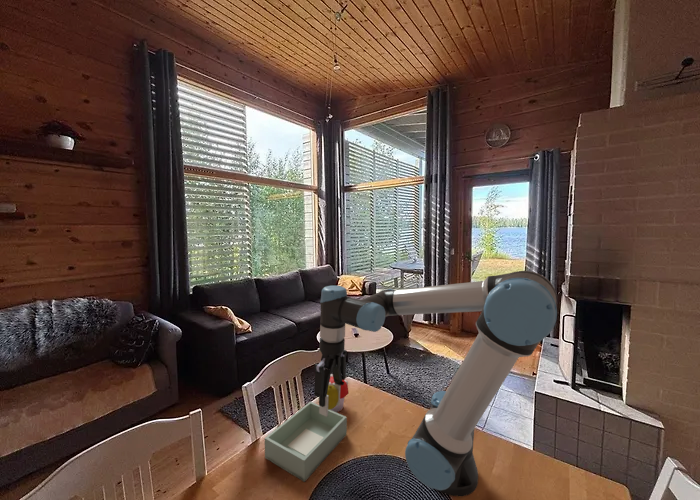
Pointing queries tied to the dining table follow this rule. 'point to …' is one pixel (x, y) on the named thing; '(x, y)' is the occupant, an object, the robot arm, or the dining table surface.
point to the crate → (305, 440)
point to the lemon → (332, 397)
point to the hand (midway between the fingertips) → (329, 408)
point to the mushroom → (342, 393)
